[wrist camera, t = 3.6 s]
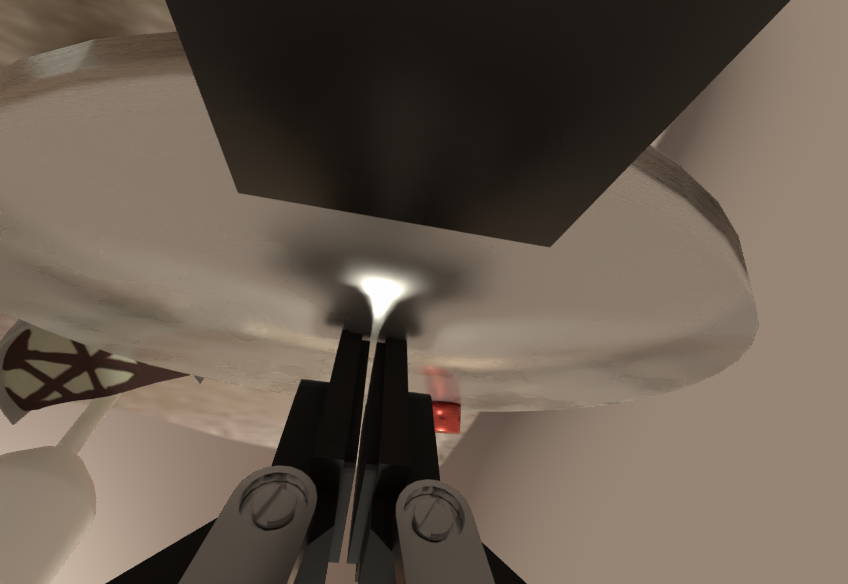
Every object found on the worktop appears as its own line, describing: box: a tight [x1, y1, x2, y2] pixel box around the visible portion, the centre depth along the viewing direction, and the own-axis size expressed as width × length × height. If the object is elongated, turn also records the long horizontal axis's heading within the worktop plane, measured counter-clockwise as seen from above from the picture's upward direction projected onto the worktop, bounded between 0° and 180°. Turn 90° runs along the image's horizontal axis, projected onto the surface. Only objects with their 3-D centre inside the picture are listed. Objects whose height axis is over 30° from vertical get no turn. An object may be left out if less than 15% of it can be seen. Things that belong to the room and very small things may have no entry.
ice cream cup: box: [0, 319, 204, 425], centre depth 26 cm, size 12×6×10 cm, turn 103°
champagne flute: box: [0, 393, 122, 584], centre depth 23 cm, size 7×7×24 cm
